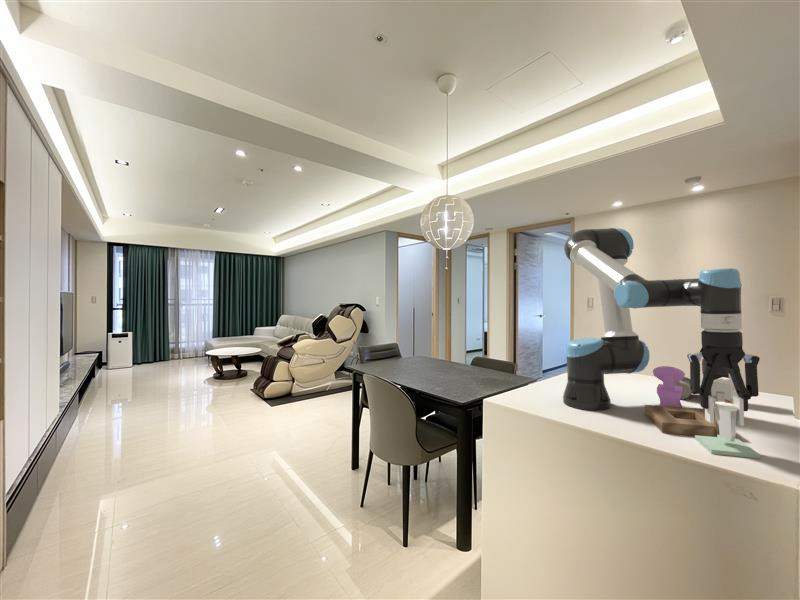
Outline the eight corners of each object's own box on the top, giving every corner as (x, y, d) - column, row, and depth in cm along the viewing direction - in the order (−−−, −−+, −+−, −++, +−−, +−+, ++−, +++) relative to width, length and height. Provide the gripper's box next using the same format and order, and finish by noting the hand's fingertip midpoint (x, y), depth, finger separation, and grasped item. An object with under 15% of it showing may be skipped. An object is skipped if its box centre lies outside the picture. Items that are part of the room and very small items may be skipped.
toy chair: (687, 408, 115) (685, 364, 115) (685, 415, 108) (684, 368, 108) (656, 403, 120) (654, 361, 120) (653, 410, 114) (651, 366, 114)
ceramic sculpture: (658, 373, 127) (668, 369, 137) (658, 397, 127) (668, 391, 137) (695, 378, 119) (703, 373, 129) (695, 403, 119) (703, 396, 129)
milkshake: (706, 436, 88) (704, 397, 88) (725, 434, 88) (723, 396, 88) (724, 443, 83) (722, 403, 83) (744, 441, 84) (742, 401, 83)
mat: (711, 453, 83) (711, 449, 83) (695, 438, 91) (694, 435, 91) (760, 458, 80) (759, 454, 80) (738, 442, 88) (738, 439, 88)
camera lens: (721, 398, 123) (719, 357, 123) (741, 405, 115) (739, 361, 115) (697, 398, 124) (695, 357, 124) (715, 405, 116) (713, 361, 116)
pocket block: (662, 432, 96) (662, 422, 96) (644, 413, 111) (644, 404, 111) (735, 439, 90) (734, 427, 90) (706, 418, 105) (706, 408, 105)
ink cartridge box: (723, 413, 109) (721, 367, 109) (744, 417, 105) (742, 369, 104) (711, 418, 105) (709, 371, 105) (732, 423, 101) (730, 373, 101)
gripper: (682, 331, 85) (685, 424, 85) (779, 331, 79) (782, 431, 79) (671, 328, 92) (674, 414, 92) (759, 328, 86) (762, 420, 86)
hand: (724, 422), depth 86 cm, fingers closed on milkshake, 5 cm apart
